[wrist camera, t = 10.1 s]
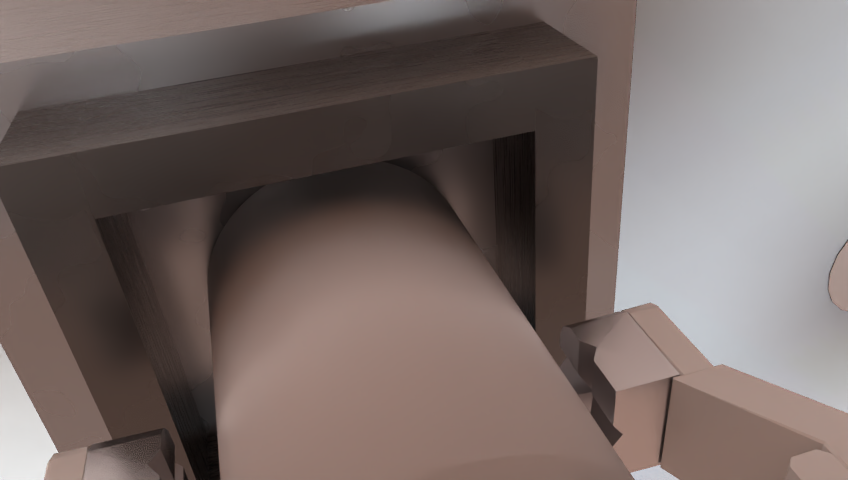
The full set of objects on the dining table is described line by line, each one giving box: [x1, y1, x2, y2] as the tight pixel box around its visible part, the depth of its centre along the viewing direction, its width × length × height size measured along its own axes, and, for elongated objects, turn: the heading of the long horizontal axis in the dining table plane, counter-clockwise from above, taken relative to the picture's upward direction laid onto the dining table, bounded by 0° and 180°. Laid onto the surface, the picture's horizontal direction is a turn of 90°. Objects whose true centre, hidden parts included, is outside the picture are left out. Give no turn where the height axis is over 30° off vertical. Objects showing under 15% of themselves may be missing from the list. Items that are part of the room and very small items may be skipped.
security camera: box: [207, 162, 634, 480], centre depth 11 cm, size 5×5×8 cm
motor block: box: [0, 0, 637, 480], centre depth 15 cm, size 16×10×8 cm, turn 95°
